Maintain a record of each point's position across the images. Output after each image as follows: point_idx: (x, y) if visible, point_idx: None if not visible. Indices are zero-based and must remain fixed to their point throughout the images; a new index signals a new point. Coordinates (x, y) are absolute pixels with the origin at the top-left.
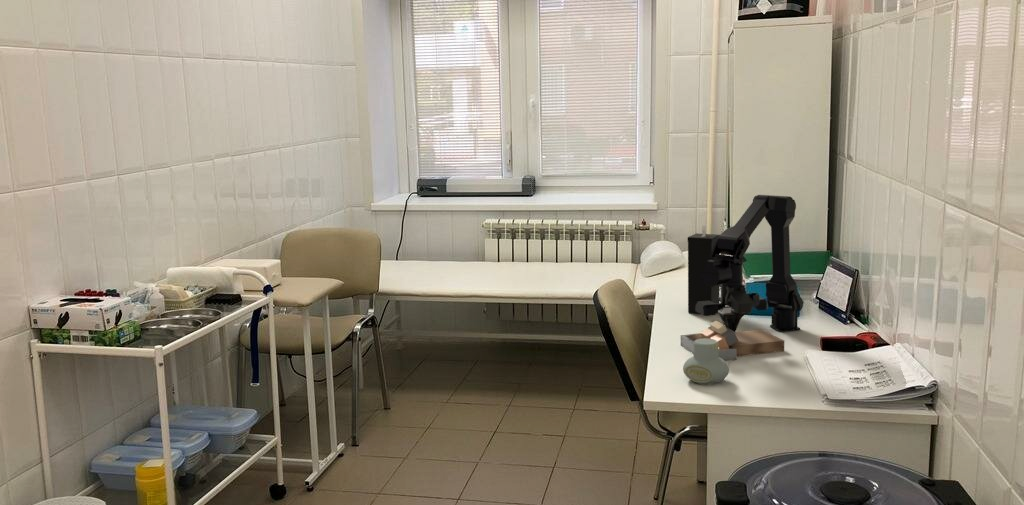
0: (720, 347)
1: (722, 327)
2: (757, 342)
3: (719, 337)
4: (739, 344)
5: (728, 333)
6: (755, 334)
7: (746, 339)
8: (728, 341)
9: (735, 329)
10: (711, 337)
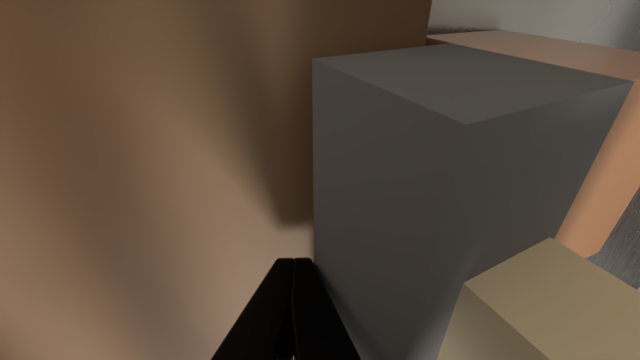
0: (575, 45)
1: (613, 347)
2: (5, 34)
3: (602, 173)
4: (303, 31)
5: (538, 152)
6: (12, 299)
7: (138, 197)
8: (496, 59)
9: (246, 325)
10: (587, 254)
